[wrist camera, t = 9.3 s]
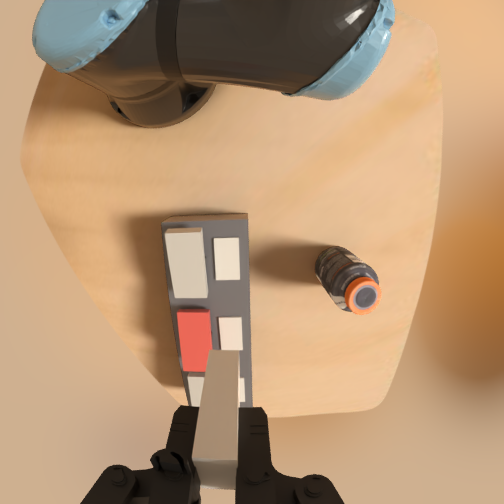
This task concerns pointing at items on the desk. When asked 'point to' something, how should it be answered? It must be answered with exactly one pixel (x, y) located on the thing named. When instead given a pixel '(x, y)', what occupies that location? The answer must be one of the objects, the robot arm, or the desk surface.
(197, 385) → the block
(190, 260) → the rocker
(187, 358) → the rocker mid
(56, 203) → the desk surface
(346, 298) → the pill bottle
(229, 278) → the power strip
